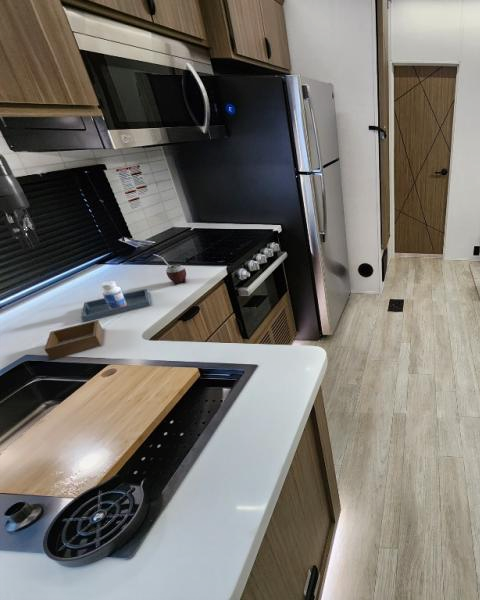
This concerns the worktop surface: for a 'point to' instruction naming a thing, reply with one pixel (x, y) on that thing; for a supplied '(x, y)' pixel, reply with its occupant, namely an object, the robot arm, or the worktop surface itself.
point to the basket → (77, 345)
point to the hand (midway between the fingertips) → (32, 246)
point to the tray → (101, 308)
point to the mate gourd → (175, 272)
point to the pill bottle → (113, 295)
